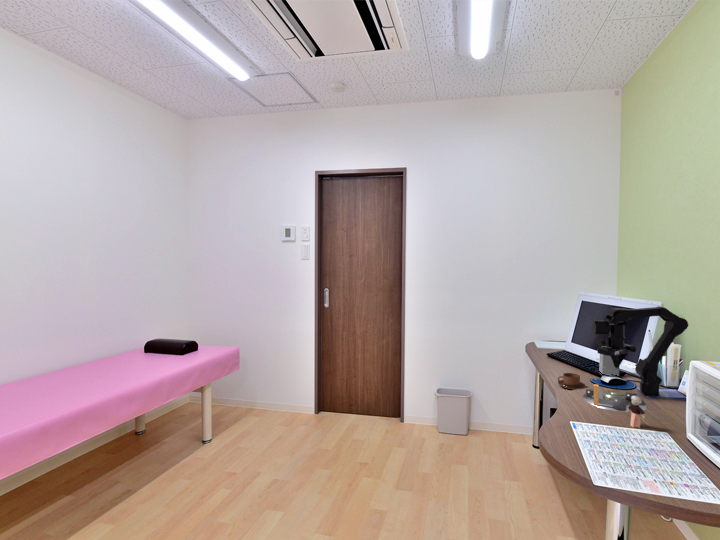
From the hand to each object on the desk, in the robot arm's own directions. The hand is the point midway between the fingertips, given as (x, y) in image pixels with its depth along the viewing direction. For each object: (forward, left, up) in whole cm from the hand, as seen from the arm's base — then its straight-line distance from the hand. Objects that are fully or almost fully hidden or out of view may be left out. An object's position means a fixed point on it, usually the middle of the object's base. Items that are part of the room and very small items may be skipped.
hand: (616, 367), depth 188 cm
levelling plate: (+5, +16, -12) cm, 21 cm away
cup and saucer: (+19, -3, -12) cm, 23 cm away
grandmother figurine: (+4, +42, -12) cm, 44 cm away
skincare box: (-4, -30, -12) cm, 33 cm away
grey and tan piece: (+8, +24, -11) cm, 28 cm away
